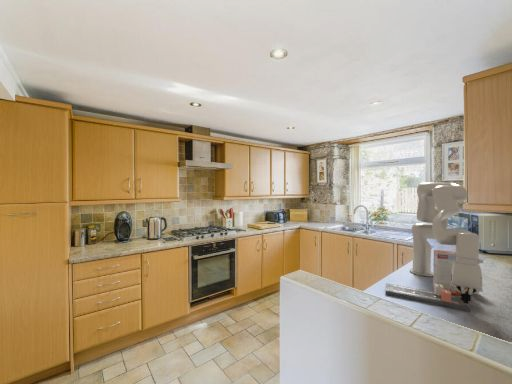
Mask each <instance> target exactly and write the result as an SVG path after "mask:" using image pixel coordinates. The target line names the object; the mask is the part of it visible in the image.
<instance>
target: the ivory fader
mask: <svg viewBox="0 0 512 384" xmlns="http://www.w3.org/2000/svg"><path fill="white" fill-rule="evenodd" d="M441 289H444V287H443V286H442V285H441V284H435V283H434V289H433V292H435V294H436V295H441Z"/></svg>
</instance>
